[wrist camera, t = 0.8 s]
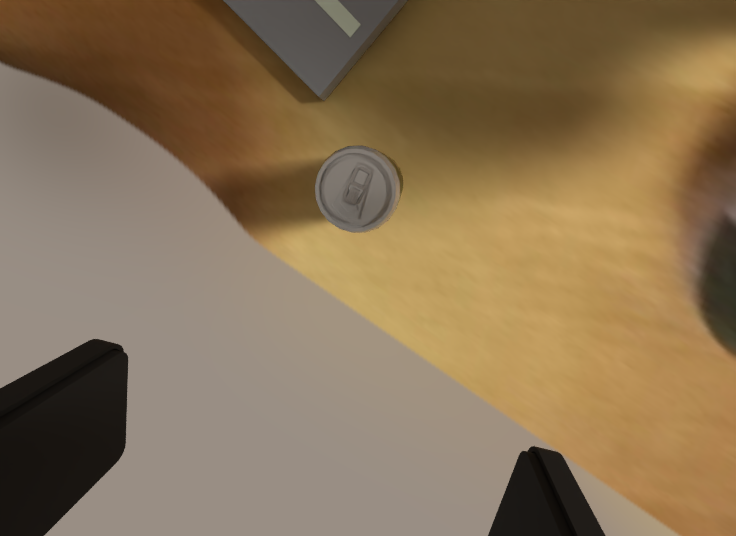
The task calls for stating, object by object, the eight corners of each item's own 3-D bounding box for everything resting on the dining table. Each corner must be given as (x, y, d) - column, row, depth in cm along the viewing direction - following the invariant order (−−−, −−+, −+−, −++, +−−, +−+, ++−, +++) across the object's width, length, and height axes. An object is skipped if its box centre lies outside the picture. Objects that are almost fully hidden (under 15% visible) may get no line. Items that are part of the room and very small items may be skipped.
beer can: (359, 142, 33) (331, 128, 22) (413, 168, 33) (415, 168, 22) (335, 197, 35) (298, 212, 23) (387, 222, 35) (376, 250, 23)
